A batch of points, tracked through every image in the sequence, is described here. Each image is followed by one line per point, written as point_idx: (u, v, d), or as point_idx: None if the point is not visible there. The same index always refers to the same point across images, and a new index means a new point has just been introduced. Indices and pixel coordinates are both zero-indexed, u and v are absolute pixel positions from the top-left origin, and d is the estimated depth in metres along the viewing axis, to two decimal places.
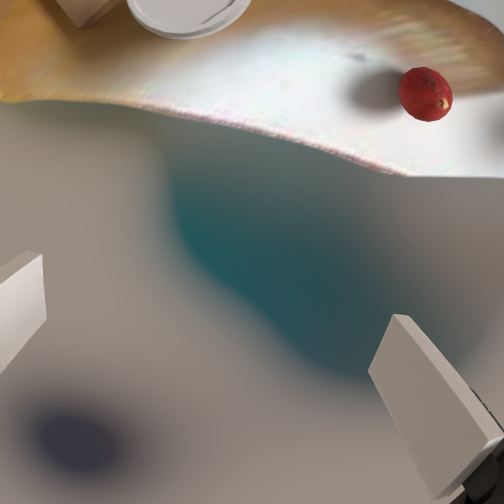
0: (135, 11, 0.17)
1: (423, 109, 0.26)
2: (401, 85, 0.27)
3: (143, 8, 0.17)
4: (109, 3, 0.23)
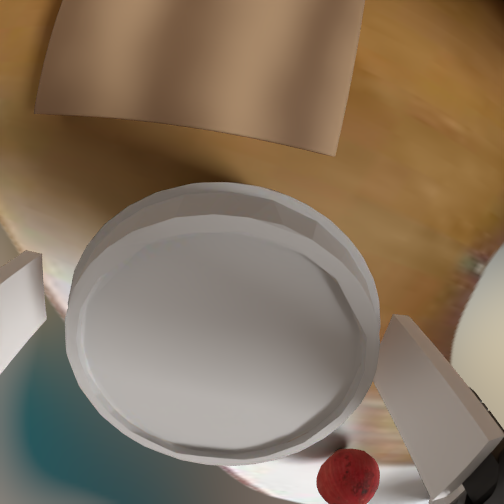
0: (70, 341, 0.07)
1: (333, 502, 0.21)
2: (333, 468, 0.23)
3: (91, 344, 0.08)
4: None
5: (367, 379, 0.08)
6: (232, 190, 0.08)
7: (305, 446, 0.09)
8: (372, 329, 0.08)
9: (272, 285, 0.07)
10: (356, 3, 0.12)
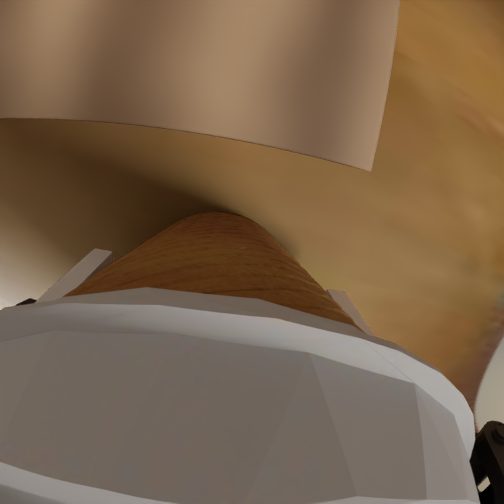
0: None
1: None
2: None
3: None
4: None
5: None
6: (182, 327, 0.02)
7: None
8: None
9: None
10: None
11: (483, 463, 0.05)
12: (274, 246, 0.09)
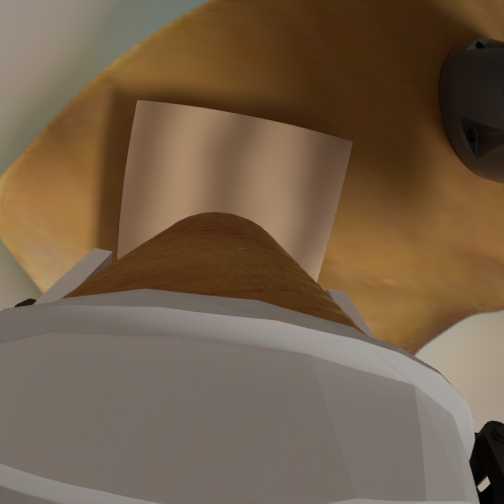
0: None
1: None
2: None
3: None
4: None
5: None
6: (181, 329, 0.02)
7: None
8: None
9: None
10: (324, 235, 0.25)
11: (483, 463, 0.05)
12: (274, 247, 0.09)
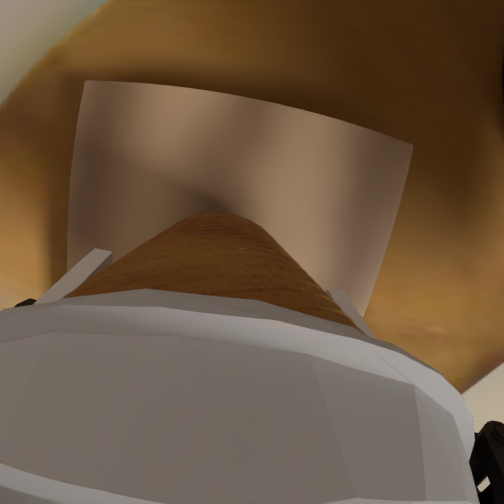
0: None
1: None
2: None
3: None
4: None
5: None
6: (181, 329, 0.02)
7: None
8: None
9: None
10: (367, 284, 0.16)
11: (483, 463, 0.05)
12: (274, 247, 0.09)
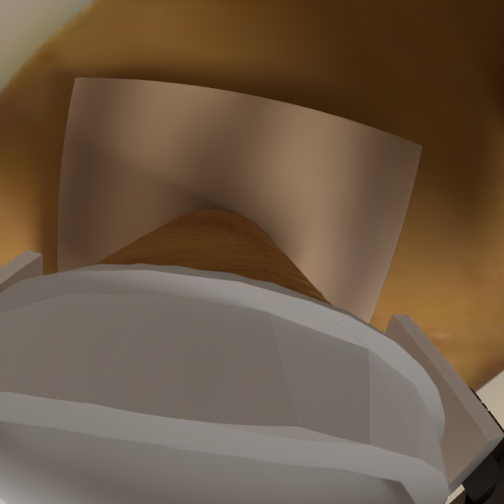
0: None
1: None
2: None
3: None
4: None
5: None
6: (165, 289, 0.03)
7: None
8: None
9: (265, 490, 0.03)
10: (373, 292, 0.15)
11: None
12: (263, 239, 0.09)
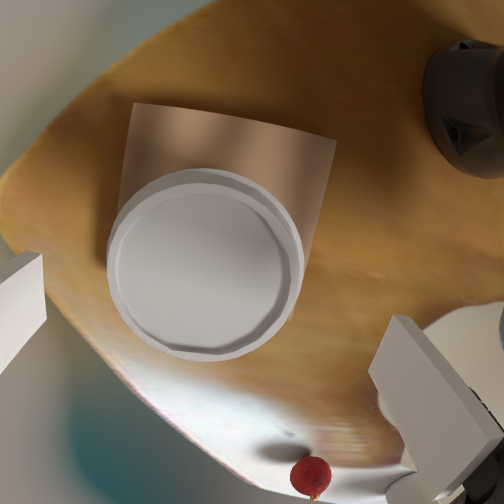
0: (110, 263, 0.13)
1: (300, 490, 0.35)
2: (299, 468, 0.36)
3: (123, 265, 0.14)
4: None
5: (294, 287, 0.14)
6: (208, 172, 0.14)
7: (260, 343, 0.15)
8: (291, 250, 0.14)
9: (230, 223, 0.13)
10: (310, 229, 0.26)
11: None
12: None
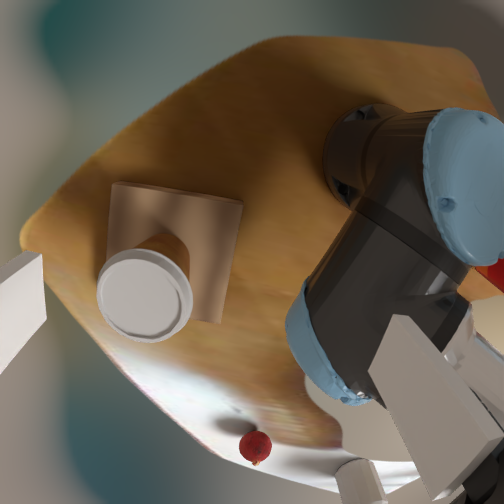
0: (98, 293, 0.27)
1: (245, 457, 0.48)
2: (245, 438, 0.50)
3: (104, 294, 0.28)
4: None
5: (183, 307, 0.28)
6: (141, 250, 0.28)
7: (171, 334, 0.29)
8: (179, 289, 0.28)
9: (151, 276, 0.27)
10: (228, 264, 0.40)
11: None
12: (170, 244, 0.34)
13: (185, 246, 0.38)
